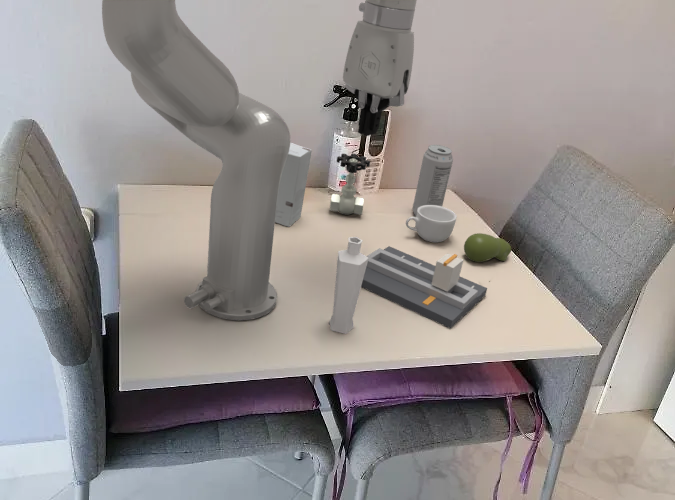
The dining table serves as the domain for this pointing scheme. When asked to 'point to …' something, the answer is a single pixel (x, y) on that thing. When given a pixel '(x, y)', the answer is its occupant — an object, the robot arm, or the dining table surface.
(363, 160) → the valve
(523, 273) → the dining table surface
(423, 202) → the energy drink can
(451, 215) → the teacup
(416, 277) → the console
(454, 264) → the fader
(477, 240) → the pear
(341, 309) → the perfume bottle
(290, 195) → the skincare box
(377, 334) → the dining table surface
